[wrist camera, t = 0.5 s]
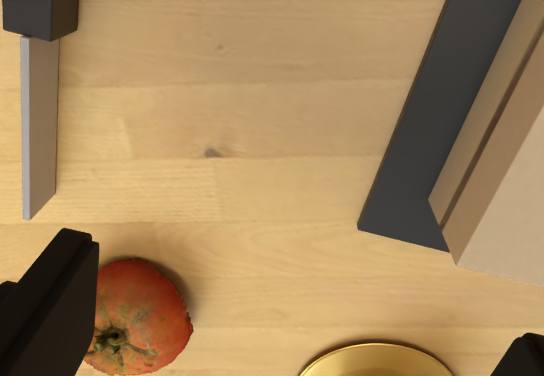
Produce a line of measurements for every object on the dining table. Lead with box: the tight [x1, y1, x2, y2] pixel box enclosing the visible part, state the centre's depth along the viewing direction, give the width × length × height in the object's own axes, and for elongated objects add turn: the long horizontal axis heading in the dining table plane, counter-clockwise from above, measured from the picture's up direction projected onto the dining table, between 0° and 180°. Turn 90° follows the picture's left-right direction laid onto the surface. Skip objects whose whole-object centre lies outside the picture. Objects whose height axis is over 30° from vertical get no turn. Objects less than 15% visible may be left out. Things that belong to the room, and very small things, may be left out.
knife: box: [2, 0, 78, 220], centre depth 23 cm, size 18×2×3 cm, turn 166°
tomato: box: [84, 258, 194, 376], centre depth 31 cm, size 8×7×7 cm
